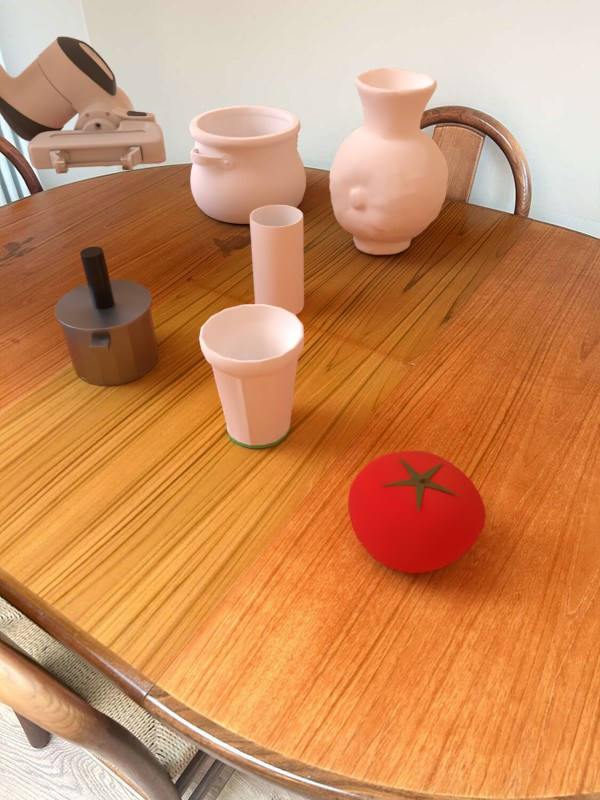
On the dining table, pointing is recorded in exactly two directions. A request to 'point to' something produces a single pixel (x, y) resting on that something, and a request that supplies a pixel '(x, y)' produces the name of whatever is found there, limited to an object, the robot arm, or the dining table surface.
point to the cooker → (114, 352)
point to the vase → (389, 164)
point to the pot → (245, 161)
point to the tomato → (415, 511)
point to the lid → (102, 299)
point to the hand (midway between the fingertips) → (93, 166)
